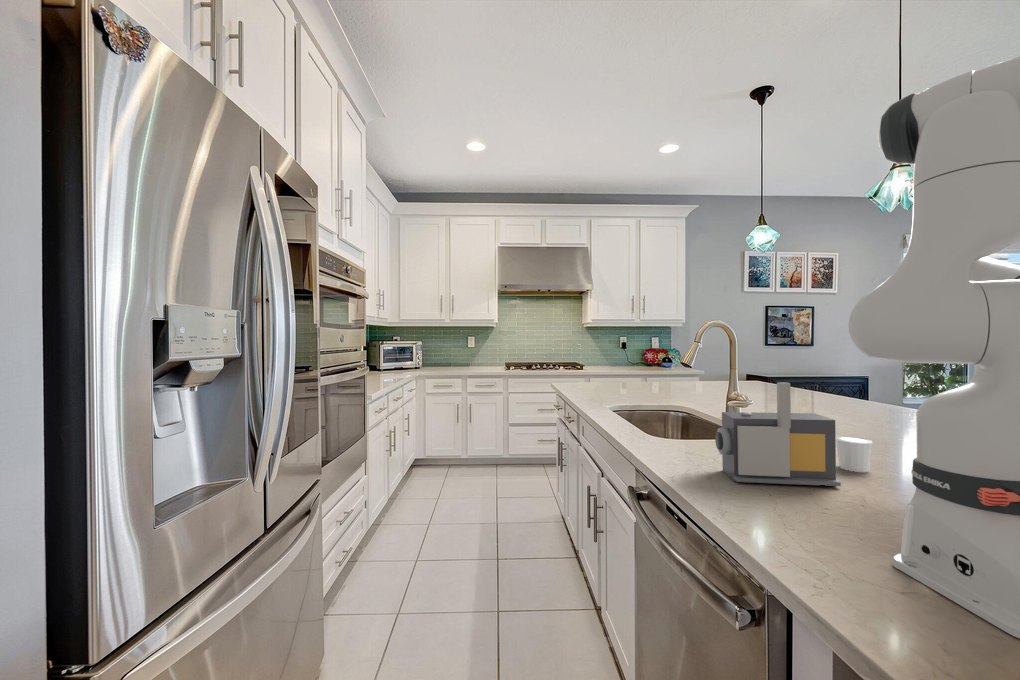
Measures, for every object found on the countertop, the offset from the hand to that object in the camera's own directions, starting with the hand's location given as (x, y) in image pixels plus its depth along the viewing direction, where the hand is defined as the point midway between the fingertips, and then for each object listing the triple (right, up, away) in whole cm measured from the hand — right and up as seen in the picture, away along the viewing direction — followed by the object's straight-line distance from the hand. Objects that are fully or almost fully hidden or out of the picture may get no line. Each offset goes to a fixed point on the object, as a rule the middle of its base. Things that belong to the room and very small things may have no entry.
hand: (872, 347), depth 85 cm
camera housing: (-15, -30, +9) cm, 34 cm away
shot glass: (+9, -29, +15) cm, 34 cm away
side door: (-19, -28, +5) cm, 34 cm away
